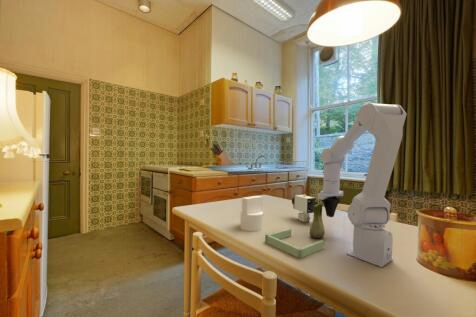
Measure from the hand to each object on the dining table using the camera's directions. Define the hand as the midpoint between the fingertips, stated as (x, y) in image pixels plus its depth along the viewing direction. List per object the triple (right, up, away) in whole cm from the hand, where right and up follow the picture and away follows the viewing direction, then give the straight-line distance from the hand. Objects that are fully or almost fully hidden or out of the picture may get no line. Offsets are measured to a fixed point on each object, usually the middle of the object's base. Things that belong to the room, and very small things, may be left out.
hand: (330, 216), depth 84 cm
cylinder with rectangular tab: (-30, -6, +4) cm, 30 cm away
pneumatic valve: (-5, -6, +15) cm, 17 cm away
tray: (-17, -6, -13) cm, 22 cm away
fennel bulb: (-7, -6, -5) cm, 10 cm away
